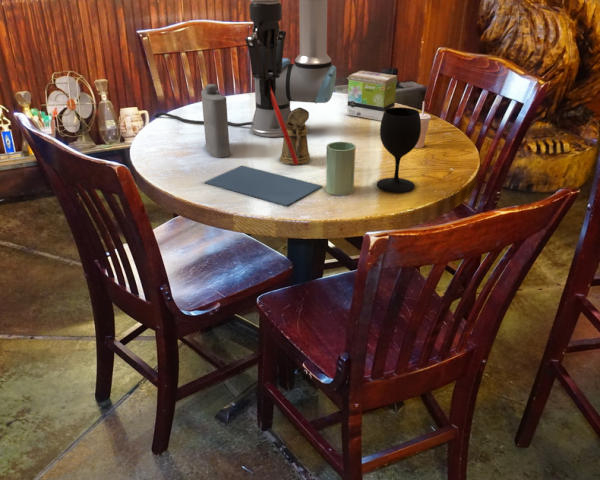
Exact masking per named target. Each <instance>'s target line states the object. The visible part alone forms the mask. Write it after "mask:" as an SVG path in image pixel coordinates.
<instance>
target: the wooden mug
mask: <svg viewBox="0 0 600 480" xmlns="http://www.w3.org/2000/svg"><path fill="white" fill-rule="evenodd" d="M309 117H310V113H309V111H308V110H307V109H305V108H303V107H296V108H294V109H292V110H291V112H290V113H289V114H288V121H287V122H286V123H285V126H286V129H287V132H288V135H289V137H290V140H291V143H292V146H293V148H294V151H295V154H296V157H297V159H298V164H297V166H298V165H299V166H300V165H305V164H307V163H310V161H311V154H310V151H309V145H308V138H307V137H308V136H307V135H308V134H309V132H308V127H307V125H306V122H307V121H308V120H309ZM279 161H280V162H281V163H284V164H286V165H292V166H296V165H295V164H294V162H293V159H292V157H291V154H290V151H289V149H288V146H287V143H286V140H285V138H284V137H283V141H282V148H281V153H280V158H279Z"/></svg>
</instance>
